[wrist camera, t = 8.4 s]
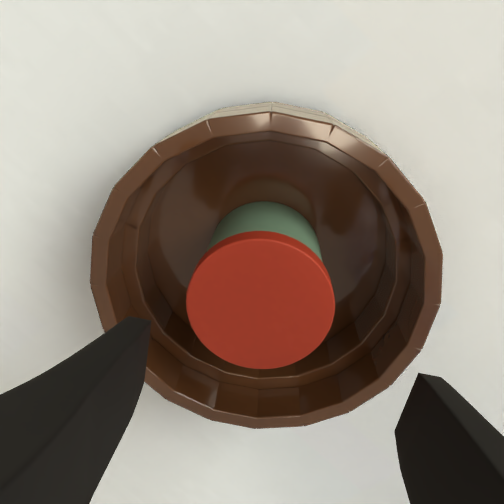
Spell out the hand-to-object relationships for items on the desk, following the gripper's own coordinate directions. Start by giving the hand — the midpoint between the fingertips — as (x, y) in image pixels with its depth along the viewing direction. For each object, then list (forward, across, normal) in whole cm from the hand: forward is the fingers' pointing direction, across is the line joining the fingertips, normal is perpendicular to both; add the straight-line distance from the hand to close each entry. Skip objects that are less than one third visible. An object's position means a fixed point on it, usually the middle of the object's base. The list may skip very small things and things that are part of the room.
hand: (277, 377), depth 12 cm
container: (+8, +1, 0) cm, 8 cm away
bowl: (+8, +1, 0) cm, 8 cm away
